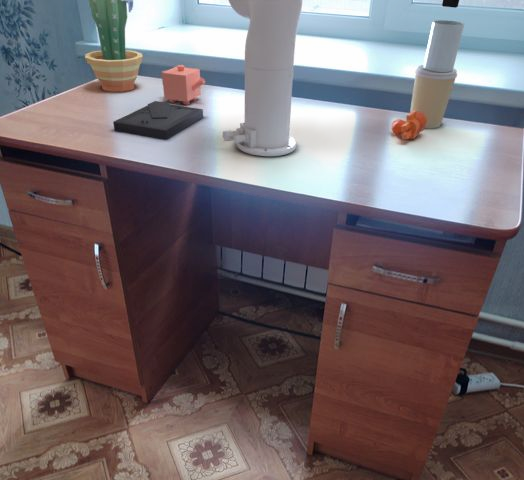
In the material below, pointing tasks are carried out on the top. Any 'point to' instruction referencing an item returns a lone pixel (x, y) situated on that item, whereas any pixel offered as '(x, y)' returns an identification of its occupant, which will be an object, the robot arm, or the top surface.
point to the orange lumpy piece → (410, 125)
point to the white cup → (443, 45)
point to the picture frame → (158, 120)
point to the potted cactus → (113, 46)
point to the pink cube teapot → (182, 84)
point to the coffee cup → (432, 94)
